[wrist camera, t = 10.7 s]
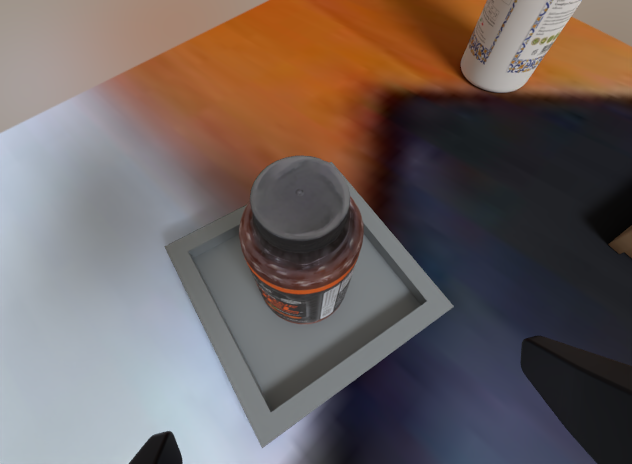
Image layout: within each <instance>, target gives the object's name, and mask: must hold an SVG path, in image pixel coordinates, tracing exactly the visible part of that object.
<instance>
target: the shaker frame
mask: <svg viewBox="0 0 632 464" xmlns="http://www.w3.org/2000/svg"><path fill="white" fill-rule="evenodd" d="M608 245H609V246H610V247H612V248H613V249H614V250H615V251H616V252H617V253H618V254H621V253H624V252H625V253H626V254H627V255H628V256H630V257H631V258H632V225H631V226H630V227H629V228H628V229H626V230H625V231H624V232H623V233H622V234H620V235H619V236H618V237H617V238H615V239H614V240H613V241H612V242H610V243H609V244H608Z"/></svg>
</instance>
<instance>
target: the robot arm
mask: <svg viewBox="0 0 632 464" xmlns="http://www.w3.org/2000/svg"><path fill="white" fill-rule="evenodd" d="M521 368H522V370H523V372H524V374H525V375H526V377H527V378H528V379H529V381H530V382H531V383H532V385H533V386H534V387H535V388H536V390H537V391H538V392H539V394H540V395H541V396H542V398H543V399H544V400H545V402H546V403H547V404H548V406H549V407H550V408H551V410H552V411H553V412H554V413H555V415H556V416H557V417H558V419H559V420H560V421H561V423H562V424H563V425H564V426H565V428H566V429H567V430H568V431H569V432H570V433H571V435H572V436H573V437H574V438H575V439H576V440H577V442H578V443H579V444H580V445H581V446H582V447H583V448H584V449H585V450H586V452H587V453H588V454H589V455H590V456H591V457H592V458H593V459H594V461H595V462H596V463H597V464H632V366H629V365H626V364H623V363H620V362H617V361H614V360H611V359H608V358H605V357H602V356H599V355H596V354H593V353H590V352H587V351H584V350H581V349H578V348H575V347H572V346H569V345H566V344H563V343H560V342H557V341H554V340H551V339H548V338H545V337H542V336H534V337H530V338H526V339H524V340H523V342H522V349H521ZM129 464H183V462H182V456H181V453H180V450H179V448H178V445H177V442H176V440H175V437H174V435H173V433H172V432H171V431H166V432H162V433H158V434H155V435H153V436H151V437H150V438H149V439H148V441H147V442H146V443H145V444H144V445H143V447H142V448H141V449H140V450H139V452H138V453H137V454H136V455H135V457H134V458H133V459H132V460H131V462H130V463H129Z"/></svg>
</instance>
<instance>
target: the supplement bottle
mask: <svg viewBox="0 0 632 464" xmlns="http://www.w3.org/2000/svg"><path fill="white" fill-rule="evenodd" d="M363 236H364V226H363V220H362V216H361V213H360V210H359V208H358V206H357V205H356V203H355V202H354V200H353V199H352V197H351V196H350V192H349V187H348V185H347V182H346V180H345V178H344V177H343V175H342V174H341V173H340V171H338V170H337V168H335V167H334V166H332V165H331V164H330V163H328V162H326V161H323V160H321V159H319V158H315V157H311V156H292V157H287V158H283V159H280V160H278V161H276V162H274V163H272V164H270V165H269V166H267V167H266V168H265V169H264V170H263V171H262V172H261V173H260V174H259V175H258V176H257V178H256V180H255V181H254V184H253V186H252V189H251V194H250V201H249V202H248V204H247V206H246V207H245V209H244V211H243V214H242V217H241V221H240V227H239V239H240V244H241V249H242V252H243V255H244V257H245V260H246V262H247V264H248V266H249V268H250V271H251V273H252V275H253V277H254V279H255V281H256V283H257V286H258V288H259V291H260V292H261V295H262V297H263V299H264V301H265V302H266V304H267V305H268V307H269V308H270V309H271V310H272V311H273V313H275V314H276V315H277V316H278V317H280V318H282V319H284V320H286V321H288V322H291V323H295V324H313V323H317V322H319V321H322V320H324V319H326V318H327V317H329V316H330V315H331V314H333V313H334V312H335V311H336V310H337V309H338V307H339V306H340V304H341V303H342V301H343V299H344V297H345V294H346V292H347V289H348V286H349V283H350V280H351V277H352V274H353V271H354V268H355V265H356V262H357V259H358V256H359V253H360V250H361V247H362V243H363Z"/></svg>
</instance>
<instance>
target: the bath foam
mask: <svg viewBox="0 0 632 464" xmlns="http://www.w3.org/2000/svg"><path fill="white" fill-rule="evenodd" d="M581 1H582V0H487V2H486V4H485V6H484V9H483V11H482V13H481V15H480V18H479V20H478V22H477V25H476V27H475V29H474V31H473V34H472V36H471V38H470V40H469V43H468V46H467V48H466V50H465V52H464V55H463V57H462V60H461V70H462V73H463V75H464V76H465V77H466V79H467V80H468V81H469V82H471V83H472V84H473V85H475V86H477V87H479V88H481V89H483V90H486V91H490V92H497V93H505V92H511V91H514V90H517V89H519V88H520V87H522V86H523V85H524V84H525V83H526V82H527V81H528V79H529V78H530V76H531V75H532V73H533V72H534V70H535V69H536V67H537V66H538V65H539V63H540V62H541V60H542V59H543V57H544V56H545V54H546V53H547V51H548V50H549V48H550V47H551V46H552V44H553V43H554V41H555V40H556V38H557V37H558V35H559V34H560V32H561V31H562V29H563V28H564V26H565V25H566V23H567V22H568V20H569V19H570V17H571V16H572V14H573V13H574V11H575V10H576V9H577V7H578V6H579V4H580V2H581Z"/></svg>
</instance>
